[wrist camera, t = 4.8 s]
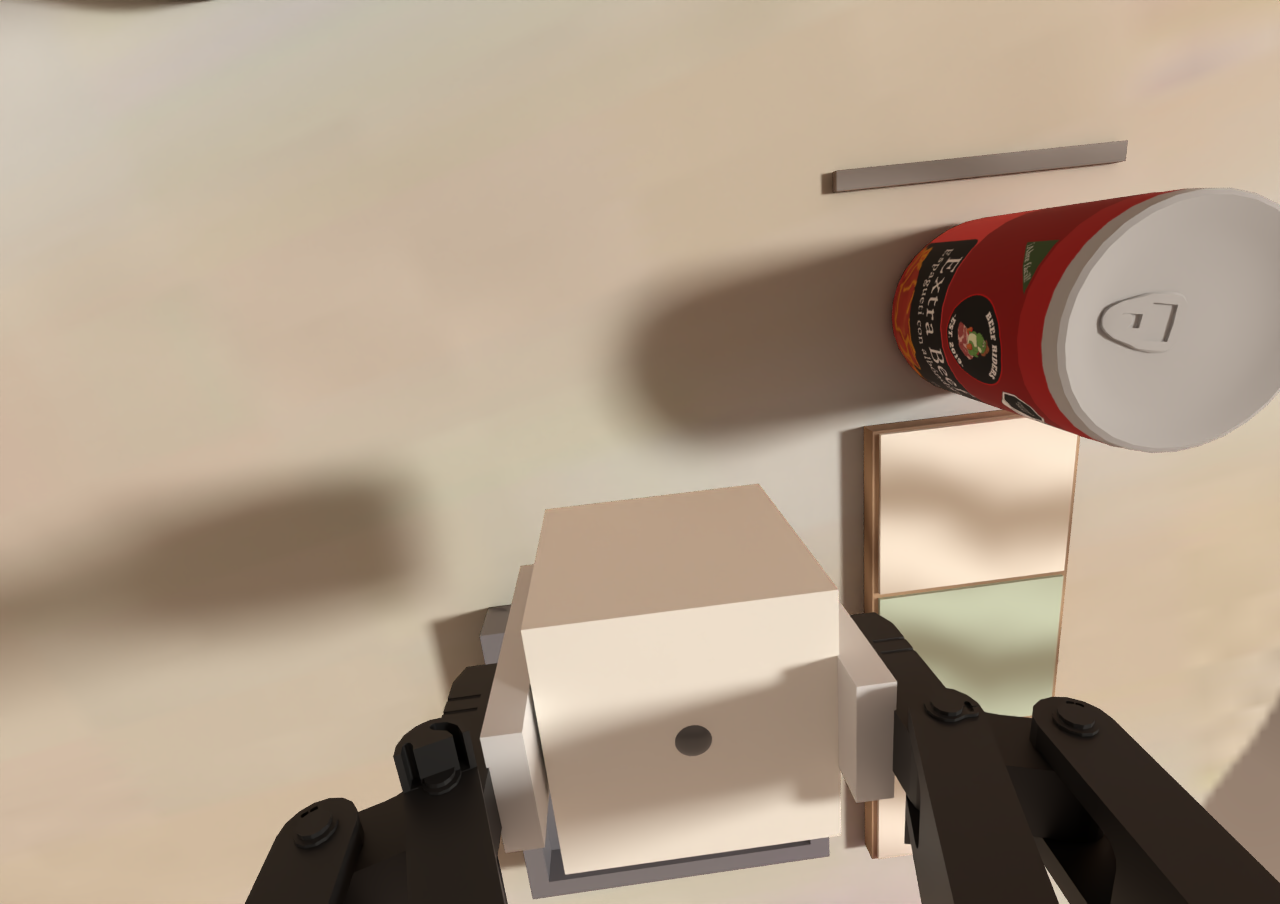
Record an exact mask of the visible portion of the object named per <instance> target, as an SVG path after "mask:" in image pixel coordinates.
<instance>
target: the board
mask: <svg viewBox="0 0 1280 904" xmlns="http://www.w3.org/2000/svg"><path fill="white" fill-rule="evenodd" d="M1127 144H1128V140H1126V141H1117V142H1107V143H1098V144H1088V145H1078V146H1069V147H1059V148H1050V149H1040V150H1030V151H1021V152H1011V153H1002V154H992V155H982V156H973V157H963V158H954V159H944V160H934V161H925V162H915V163H906V164H896V165H886V166H877V167H867V168H858V169H848V170H838V171H835V172H833V192H842V191H852V190H861V189H871V188H880V187H890V186H899V185H909V184H918V183H928V182H937V181H946V180H956V179H965V178H975V177H984V176H994V175H1003V174H1013V173H1022V172H1032V171H1041V170H1051V169H1060V168H1070V167H1079V166H1089V165H1098V164H1108V163H1117V162H1122V161H1126V153H1127ZM1079 443H1080V436H1079V435H1076V434H1073V433H1070V432H1067V431H1064V430H1061V429H1058V428H1055V427H1052V426H1050V425H1047V424H1044V423H1041V422H1038V421H1035V420H1032V419H1029V418H1026V417H1023V416H1020V415H1018V414H1015V413H1012V412H1009V411H1006V410H997V411H989V412H981V413H972V414H964V415H956V416H947V417H939V418H930V419H922V420H914V421H905V422H897V423H889V424H880V425H872V426H864V613H871V612H875V613H877V614H879V615H880V616H882V617H884V618H885V619H887V620H889V621H890V622H892V623H893V624H894V625H895V626H896V628H897V629H898V630H899V631H900V632H901V634H902V635H903V636H904V639H906V640H907V641H908V642H909V643H910V645H911V646H912V647H913V650H914V651H916V652H917V653H918V654H919V656H920V657H921V658H922V659H923V660H924V662H925V663H926V664H927V665H928V667H929V668H930V669H931V670H932V671H933V673H934V674H935V675H936V676H937V677H938V679H939V680H940V681H941V682H942V684H943V685H944V686H945V687H946V688H950V689H955V690H957V691H959V692H962V693H964V694H967V695H968V696H970V697H971V698H972V699H974V700H975V701H976V702H978V703H979V705H980V706H981V708H982V709H983V710H984V712H987V713H993V714H999V715H1008V716H1018V717H1028V718H1032V711H1033V706H1034V705H1035V704H1036V703H1037V702H1038V701H1039V700H1041V699H1045V698H1049V697H1054V695H1055V685H1056V674H1057V664H1058V654H1059V644H1060V634H1061V624H1062V614H1063V604H1064V594H1065V584H1066V574H1067V564H1068V553H1069V543H1070V533H1071V523H1072V513H1073V503H1074V493H1075V483H1076V473H1077V463H1078V453H1079ZM905 805H906V793H905V791H904V789H903V788H902V786H901V784H900V783H899V781H898V779H897V777H896V776H895V782H894V798H889V799H882V800H875V801H868V802H865V845H866V847H867V849H868V851H869V853H870V856H871V858H872V859H875V858H878V859H884V858H891V857H898V856H905V855H912V854H913V853H912V848H911V844H904V835H905Z"/></svg>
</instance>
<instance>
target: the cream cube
mask: <svg viewBox="0 0 1280 904" xmlns="http://www.w3.org/2000/svg"><path fill="white" fill-rule="evenodd" d="M521 634H522V640H523V645H524V651H525V656H526V662H527V667H528V673H529V678H530V684H531V689H532V695H533V700H534V706H535V711H536V717H537V722H538V728H539V733H540V739H541V744H542V750H543V756H544V761H545V767H546V772H547V778H548V783H549V789H550V794H551V800H552V805H553V811H554V816H555V822H556V827H557V833H558V838H559V844H560V849H561V855H562V860H563V866H564V871H565V875H566V874H573V873H580V872H587V871H594V870H601V869H608V868H615V867H622V866H629V865H636V864H643V863H650V862H657V861H664V860H671V859H678V858H685V857H692V856H699V855H706V854H713V853H720V852H727V851H735V850H742V849H749V848H756V847H763V846H770V845H777V844H784V843H791V842H798V841H805V840H812V839H819V838H826V837H833V836H840V835H841V775H840V768H839V750H838V672H837V655H839V589H838V588H837V587H836V586H835V584H834V583H833V582H832V580H831V579H830V578H829V576H828V575H827V574H826V572H825V571H824V570H823V568H822V567H821V566H820V564H819V563H818V562H817V560H816V559H815V558H814V556H813V555H812V554H811V552H810V551H809V550H808V548H807V547H806V546H805V544H804V543H803V542H802V540H801V539H800V538H799V536H798V535H797V534H796V532H795V531H794V530H793V528H792V527H791V526H790V524H789V523H788V522H787V520H786V519H785V518H784V516H783V515H782V514H781V513H780V511H779V510H778V509H777V507H776V506H775V505H774V503H773V502H772V501H771V499H770V498H769V497H768V495H767V494H766V493H765V491H764V490H763V489H762V487H761V486H760V485H759V484H752V485H743V486H735V487H727V488H719V489H710V490H702V491H694V492H685V493H677V494H669V495H661V496H652V497H644V498H636V499H628V500H619V501H611V502H603V503H594V504H586V505H578V506H570V507H561V508H553V509H545V514H544V519H543V524H542V529H541V534H540V539H539V543H538V548H537V553H536V558H535V563H534V568H533V573H532V578H531V583H530V588H529V593H528V597H527V602H526V607H525V612H524V617H523V622H522V627H521Z"/></svg>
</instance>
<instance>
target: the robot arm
mask: <svg viewBox="0 0 1280 904" xmlns="http://www.w3.org/2000/svg"><path fill="white" fill-rule="evenodd" d="M533 568H534V564H532V565H524V566H520V571H519V575H518V579H517V583H516V587H515V592H514V596H513V600H512V604H511V608H510V613H509V617H508V621H507V625H506V630H505V634H504V638H503V642H502V646H501V651H500V655H499V659H498V663H494V664H486V665H479V666H471V667H466V668H465V670H464V671H463V672H462V673H461V674H460V675H459V676H458V678H457V679H456V680H455V681H454V682H453V685H452V688H451V691H450V694H449V697H448V702H447V703H446V706H445V709H444V715H442V718H438V719H433V720H429V721H427V722H425V723H422V724H420V725H418V726H416V727H415V728H413V729H412V730H411V731H409V732H408V733H407V734H405V735H404V736H403V738H402V739H401V740H400V742H399V743H398V744H397V746H396V748H395V752H394V756H393V757H394V761H395V765H396V768H397V772H398V775H399V779H400V783H401V786H402V790H403V792H401V793H400V794H399V795H397V796H395V797H393V798H391V799H389V800H387V801H385V802H382V803H380V804H377V805H375V806H372V807H370V808H367V809H365V810H362V811H360V812H358V811H357V809H356V807H355V805H354V804H353V802H352V801H349V800H347V799H344V798H328V799H325V800H322V801H319V802H316V803H313V804H312V805H310V806H308V807H306V808H305V809H303V810H301V811H300V812H298V813H297V814H296V815H295V816H294V817H293V818H291V819H290V820H289V821H288V822H287V823H286V824H285V825H284V827H283V828H282V830H281V831H280V832H279V834H278V835H277V837H276V839H275V841H274V843H273V845H272V847H271V849H270V851H269V854H268V856H267V858H266V860H265V862H264V864H263V866H262V868H261V871H260V873H259V875H258V877H257V879H256V881H255V883H254V885H253V887H252V890H251V892H250V894H249V896H248V898H247V900H246V902H245V904H508V903H507V898H506V893H505V888H504V883H503V878H502V873H501V869H500V864H499V860H498V856H497V855H498V849H499V843H500V836H502V841H503V845H504V850H505V853H510V852H517V851H524V850H531V849H538V848H545V838H546V825H547V813H548V801H549V783H548V778H547V772H546V767H545V761H544V756H543V750H542V744H541V739H540V733H539V728H538V722H537V717H536V711H535V706H534V700H533V695H532V689H531V684H530V678H529V673H528V667H527V662H526V656H525V651H524V645H523V640H522V634H521V627H522V622H523V617H524V612H525V607H526V602H527V597H528V593H529V588H530V583H531V578H532V573H533ZM837 672H838V750H839V768H840V770H841V772H842V774H843V777H844V779H845V781H846V783H847V785H848V787H849V789H850V791H851V793H852V795H853V797H854V799H855V801H856V803H861V802H868V801H875V800H882V799H889V798H894V782H895V776H896V777H897V779H898V781H899V783H900V784H901V786H902V788H903V789H904V791H905V793H906V805H905V835H904V844H911V848H912V853H913V859H914V864H915V870H916V875H917V881H918V886H919V892H920V897H921V903H922V904H1059V902H1058V900H1057V897H1056V895H1055V892H1054V890H1053V887H1052V884H1051V882H1050V879H1049V877H1048V874H1047V871H1046V869H1045V867H1046V868H1047V870H1048V871H1049V873H1050V874H1051V876H1052V877H1053V879H1054V881H1055V882H1056V884H1057V885H1058V887H1059V888H1060V890H1061V891H1062V893H1063V894H1064V896H1065V897H1066V899H1067V900H1068V902H1069V903H1070V904H1280V883H1279V882H1278V881H1277V880H1276V879H1275V878H1274V877H1273V876H1272V875H1271V874H1270V873H1269V872H1268V871H1267V870H1266V869H1265V868H1264V867H1263V866H1262V865H1261V864H1260V863H1259V862H1258V861H1257V860H1256V859H1255V858H1254V857H1253V856H1252V855H1251V854H1250V853H1249V852H1248V851H1247V850H1246V849H1245V848H1244V847H1243V846H1242V845H1241V844H1240V843H1238V842H1237V841H1236V840H1235V839H1234V838H1233V837H1232V836H1231V835H1230V834H1229V833H1228V832H1227V831H1226V830H1225V829H1224V828H1223V827H1222V826H1221V825H1220V824H1219V823H1218V822H1217V821H1216V820H1215V819H1214V818H1213V817H1212V816H1211V815H1210V814H1209V813H1208V812H1207V811H1206V810H1205V809H1204V808H1203V807H1202V806H1201V805H1200V804H1199V803H1198V802H1197V801H1196V800H1195V799H1194V798H1193V797H1192V796H1191V795H1190V794H1189V793H1188V792H1187V791H1186V790H1185V789H1184V788H1183V787H1182V786H1181V785H1180V784H1179V783H1178V782H1177V781H1176V780H1175V779H1173V778H1172V777H1171V776H1170V775H1169V774H1168V773H1167V772H1166V771H1165V770H1164V769H1163V768H1162V767H1161V766H1160V765H1159V764H1158V763H1157V762H1156V761H1155V760H1154V759H1153V758H1152V757H1151V756H1150V755H1149V754H1148V753H1147V752H1146V751H1145V750H1144V749H1143V748H1142V747H1141V746H1140V745H1139V744H1138V743H1137V742H1136V741H1135V740H1134V739H1133V738H1132V737H1131V736H1130V735H1129V734H1128V733H1127V732H1126V731H1125V730H1124V729H1123V728H1122V727H1121V726H1120V725H1119V724H1118V723H1117V722H1116V721H1115V720H1114V719H1112V718H1111V717H1110V716H1108V715H1107V714H1106V713H1104V712H1103V711H1102V710H1100V709H1099V708H1097V707H1094V706H1092V705H1090V704H1088V703H1086V702H1083V701H1079V700H1075V699H1072V698H1068V697H1049V698H1045V699H1041V700H1039V701H1038V702H1037V703H1036V704H1035V705H1034V706H1033V711H1032V718H1028V717H1018V716H1008V715H999V714H993V713H987V712H984V710H983V709H982V708H981V706H980V705H979V703H978V702H976V701H975V700H974V699H972V698H971V697H970V696H968V695H967V694H964V693H962V692H959V691H957V690H955V689H950V688H946V687H945V686H944V685H943V684H942V682H941V681H940V680H939V679H938V677H937V676H936V675H935V674H934V673H933V671H932V670H931V669H930V668H929V667H928V665H927V664H926V663H925V662H924V660H923V659H922V658H921V657H920V656H919V654H918V653H917V652H916V651H914V650H913V647H912V646H911V645H910V643H909V642H908V641H907V640H906V639H904V636H903V635H902V634H901V632H900V631H899V630H898V629H897V628H896V626H895V625H894V624H893V623H892V622H890V621H889V620H887V619H885V618H884V617H882V616H880V615H879V614H877V613H875V612H871V613H863V614H856V615H849V614H848V612H847V611H846V610H845V608H844V607H843V605H842V604H841V603H840V601H839V655H837ZM1044 865H1045V866H1044Z"/></svg>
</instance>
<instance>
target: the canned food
mask: <svg viewBox="0 0 1280 904" xmlns="http://www.w3.org/2000/svg"><path fill="white" fill-rule="evenodd" d="M892 325H893V333H894V336H895V339H896V342H897V345H898V348H899V349H900V351H901V353H902V354H903V356H904V357H905V359H906V361H907V362H908V363H909V365H910V366H911V367H912V368H913V369H914V370H915V371H916V372H917V373H918V374H919V375H920V376H921V377H922V378H924V379H925V380H927V381H928V382H930V383H931V384H933V385H935V386H937V387H940V388H943V389H945V390H948V391H951V392H954V393H957V394H959V395H962V396H965V397H968V398H971V399H974V400H977V401H980V402H983V403H986V404H988V405H991V406H994V407H997V408H1000V409H1003V410H1006V411H1009V412H1012V413H1015V414H1018V415H1020V416H1023V417H1026V418H1029V419H1032V420H1035V421H1038V422H1041V423H1044V424H1047V425H1050V426H1052V427H1055V428H1058V429H1061V430H1064V431H1067V432H1070V433H1073V434H1076V435H1079V436H1081V437H1084V438H1088V439H1092V440H1095V441H1098V442H1101V443H1104V444H1107V445H1110V446H1114V447H1120V448H1126V449H1129V450H1136V451H1143V452H1149V453H1158V452H1176V451H1180V450H1185V449H1189V448H1193V447H1198V446H1201V445H1203V444H1206V443H1208V442H1211V441H1213V440H1216V439H1218V438H1220V437H1223V436H1225V435H1226V434H1228V433H1230V432H1231V431H1233V430H1235V429H1236V428H1238V427H1240V426H1241V425H1243V424H1245V423H1246V422H1248V421H1249V420H1250V419H1251V418H1252V417H1254V416H1255V415H1256V414H1257V413H1258V412H1260V411H1261V410H1262V409H1263V408H1264V407H1266V406H1267V405H1268V404H1269V403H1270V402H1271V400H1272V399H1273V398H1274V397H1275V396H1276V395H1277V394H1278V393H1279V392H1280V205H1279V204H1278V203H1276V202H1274V201H1272V200H1270V199H1267V198H1265V197H1263V196H1261V195H1259V194H1257V193H1254V192H1249V191H1244V190H1239V189H1234V188H1193V189H1180V190H1173V191H1166V192H1154V193H1147V194H1140V195H1133V196H1127V197H1120V198H1113V199H1106V200H1100V201H1093V202H1086V203H1080V204H1073V205H1066V206H1060V207H1053V208H1046V209H1039V210H1033V211H1026V212H1019V213H1013V214H1006V215H999V216H992V217H986V218H981V219H976V220H972V221H968V222H965V223H962V224H960V225H958V226H956V227H953V228H951V229H949V230H947V231H946V232H944V233H943V234H941V235H940V236H938V237H937V238H936V239H934V240H933V241H931V242H930V243H929V244H928V245H926V246H925V247H924V248H923V249H922V250H921V251H920V252H919V253H918V254H917V255H916V256H915V257H914V259H913V260H912V261H911V263H910V264H909V265H908V267H907V268H906V270H905V271H904V273H903V275H902V277H901V279H900V281H899V284H898V286H897V289H896V292H895V296H894V300H893V307H892Z"/></svg>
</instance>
